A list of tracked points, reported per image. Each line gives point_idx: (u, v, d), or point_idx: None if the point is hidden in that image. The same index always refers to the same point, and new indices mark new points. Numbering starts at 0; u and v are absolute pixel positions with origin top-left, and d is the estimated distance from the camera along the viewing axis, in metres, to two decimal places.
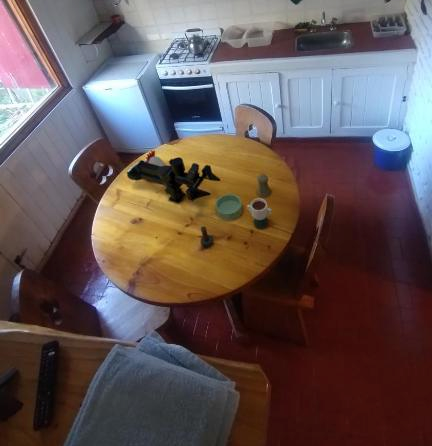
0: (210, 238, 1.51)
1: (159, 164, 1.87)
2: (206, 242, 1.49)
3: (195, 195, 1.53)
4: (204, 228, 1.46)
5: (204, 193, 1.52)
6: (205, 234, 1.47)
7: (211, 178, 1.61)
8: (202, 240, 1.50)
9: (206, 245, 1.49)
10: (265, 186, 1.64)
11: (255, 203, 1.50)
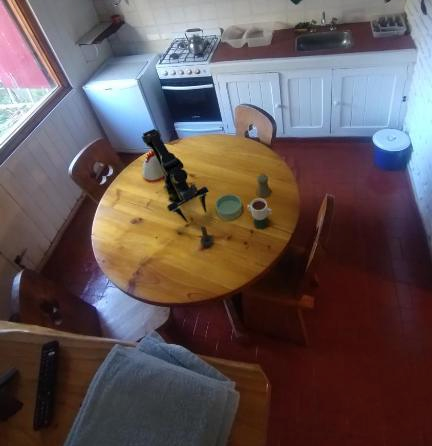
0: (210, 238, 1.51)
1: (159, 164, 1.87)
2: (206, 242, 1.49)
3: None
4: (204, 228, 1.46)
5: (182, 217, 1.47)
6: (205, 234, 1.47)
7: (201, 201, 1.52)
8: (202, 240, 1.50)
9: (206, 245, 1.49)
10: (265, 186, 1.64)
11: (255, 203, 1.50)
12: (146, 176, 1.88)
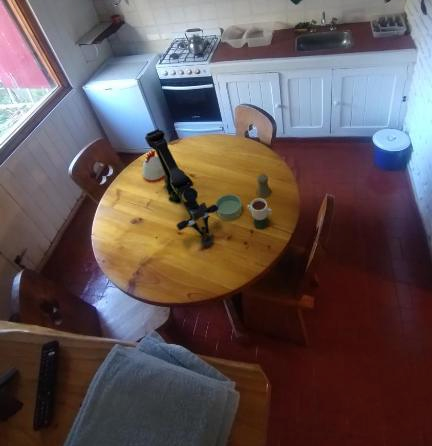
0: (210, 238, 1.51)
1: (159, 164, 1.87)
2: (206, 242, 1.49)
3: None
4: (204, 228, 1.46)
5: (199, 232, 1.46)
6: (205, 234, 1.47)
7: (203, 223, 1.49)
8: (202, 240, 1.50)
9: (206, 245, 1.49)
10: (265, 186, 1.64)
11: (255, 203, 1.50)
12: (146, 176, 1.88)
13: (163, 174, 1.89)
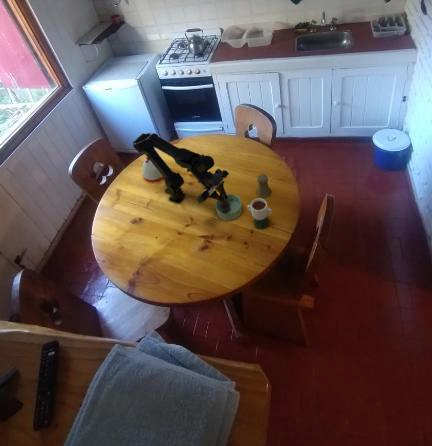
0: (227, 203, 1.57)
1: None
2: (226, 207, 1.55)
3: (210, 195, 1.51)
4: (223, 193, 1.52)
5: (219, 199, 1.51)
6: (224, 199, 1.53)
7: (219, 190, 1.54)
8: (221, 207, 1.55)
9: (227, 210, 1.55)
10: (265, 186, 1.64)
11: (255, 203, 1.50)
12: (146, 176, 1.88)
13: None
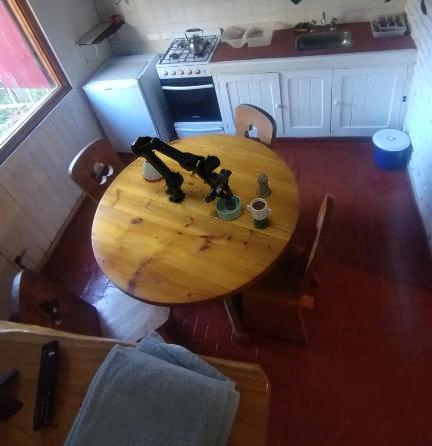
0: (233, 201, 1.65)
1: None
2: (232, 205, 1.63)
3: None
4: (229, 191, 1.59)
5: (226, 197, 1.59)
6: (231, 197, 1.60)
7: (224, 189, 1.62)
8: (227, 205, 1.63)
9: (233, 207, 1.63)
10: (265, 186, 1.64)
11: (255, 203, 1.50)
12: (146, 176, 1.88)
13: None
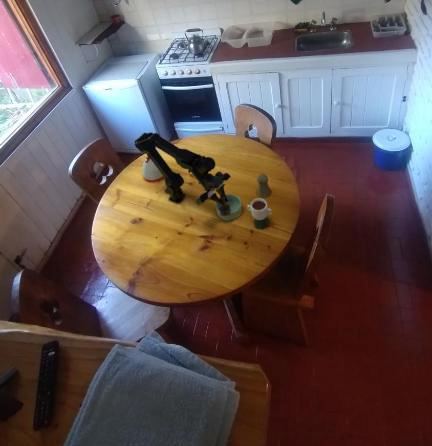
0: (228, 206, 1.55)
1: None
2: (226, 210, 1.54)
3: (209, 197, 1.50)
4: (223, 196, 1.50)
5: (219, 202, 1.50)
6: (224, 202, 1.51)
7: (219, 193, 1.53)
8: (221, 210, 1.54)
9: (226, 213, 1.54)
10: (265, 186, 1.64)
11: (255, 203, 1.50)
12: (146, 176, 1.88)
13: None
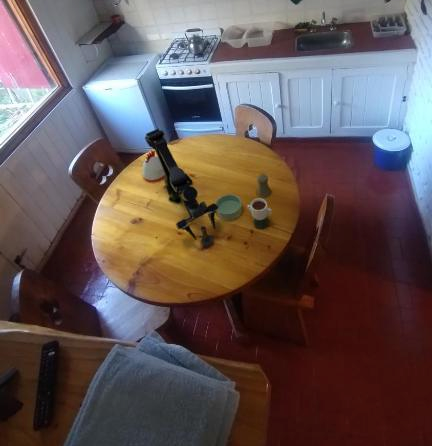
0: (210, 238, 1.51)
1: (159, 164, 1.87)
2: (206, 242, 1.49)
3: None
4: (204, 228, 1.46)
5: (191, 235, 1.45)
6: (205, 234, 1.47)
7: (210, 218, 1.49)
8: (202, 240, 1.51)
9: (206, 245, 1.49)
10: (265, 186, 1.64)
11: (255, 203, 1.50)
12: (146, 176, 1.88)
13: (163, 174, 1.89)
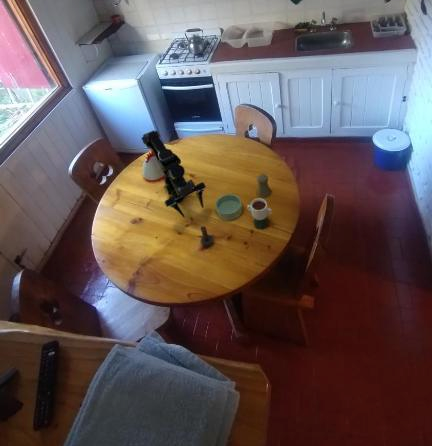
0: (210, 238, 1.51)
1: None
2: (206, 242, 1.49)
3: None
4: (204, 228, 1.46)
5: (180, 213, 1.49)
6: (205, 234, 1.47)
7: (198, 197, 1.53)
8: (202, 240, 1.51)
9: (206, 245, 1.49)
10: (265, 186, 1.64)
11: (255, 203, 1.50)
12: (146, 176, 1.88)
13: (163, 174, 1.89)
